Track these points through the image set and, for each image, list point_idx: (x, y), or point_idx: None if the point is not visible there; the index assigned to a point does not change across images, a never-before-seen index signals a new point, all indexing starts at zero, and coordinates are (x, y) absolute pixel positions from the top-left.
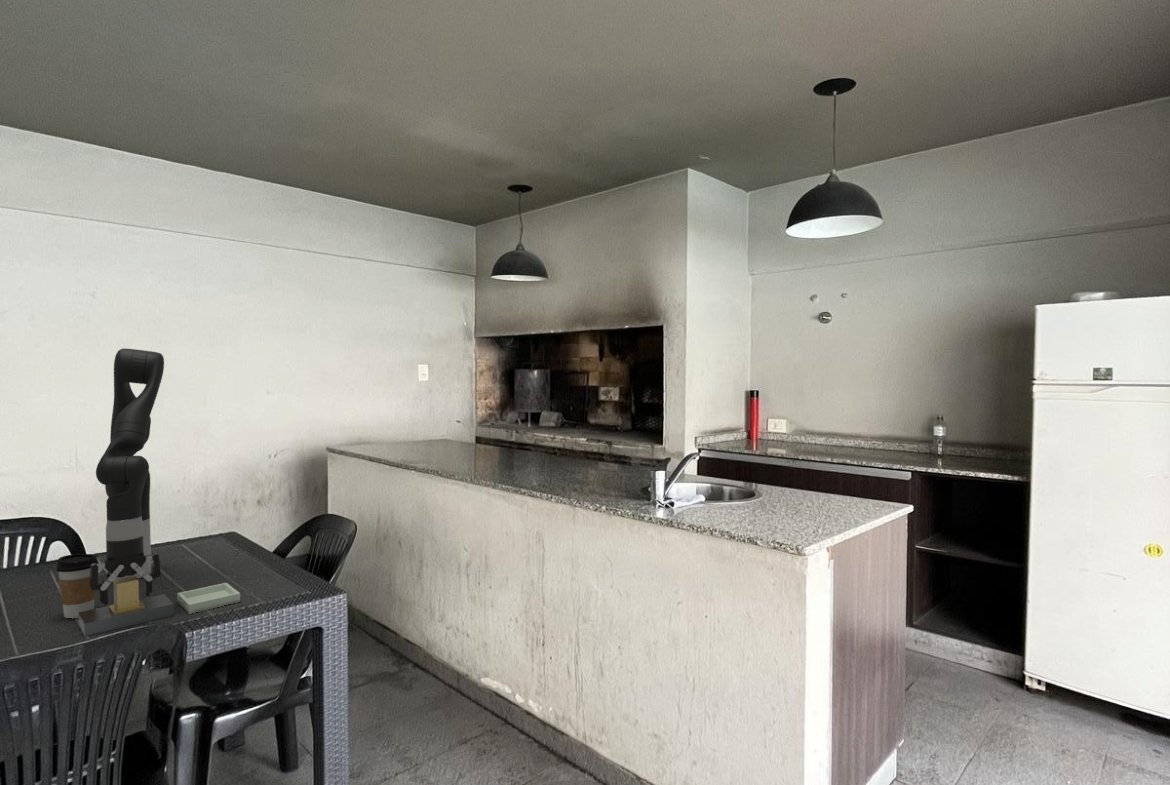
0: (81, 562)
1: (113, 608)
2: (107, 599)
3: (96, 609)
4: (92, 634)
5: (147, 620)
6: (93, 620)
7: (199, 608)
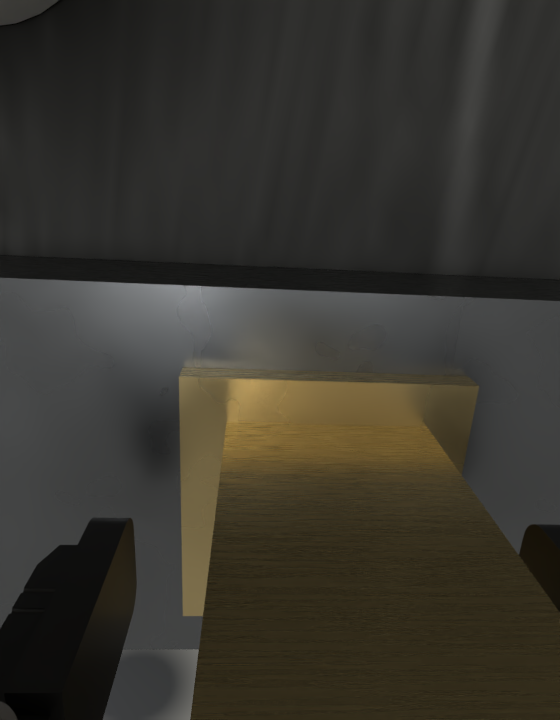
0: None
1: (203, 507)
2: (115, 656)
3: (70, 316)
4: None
5: None
6: None
7: None
